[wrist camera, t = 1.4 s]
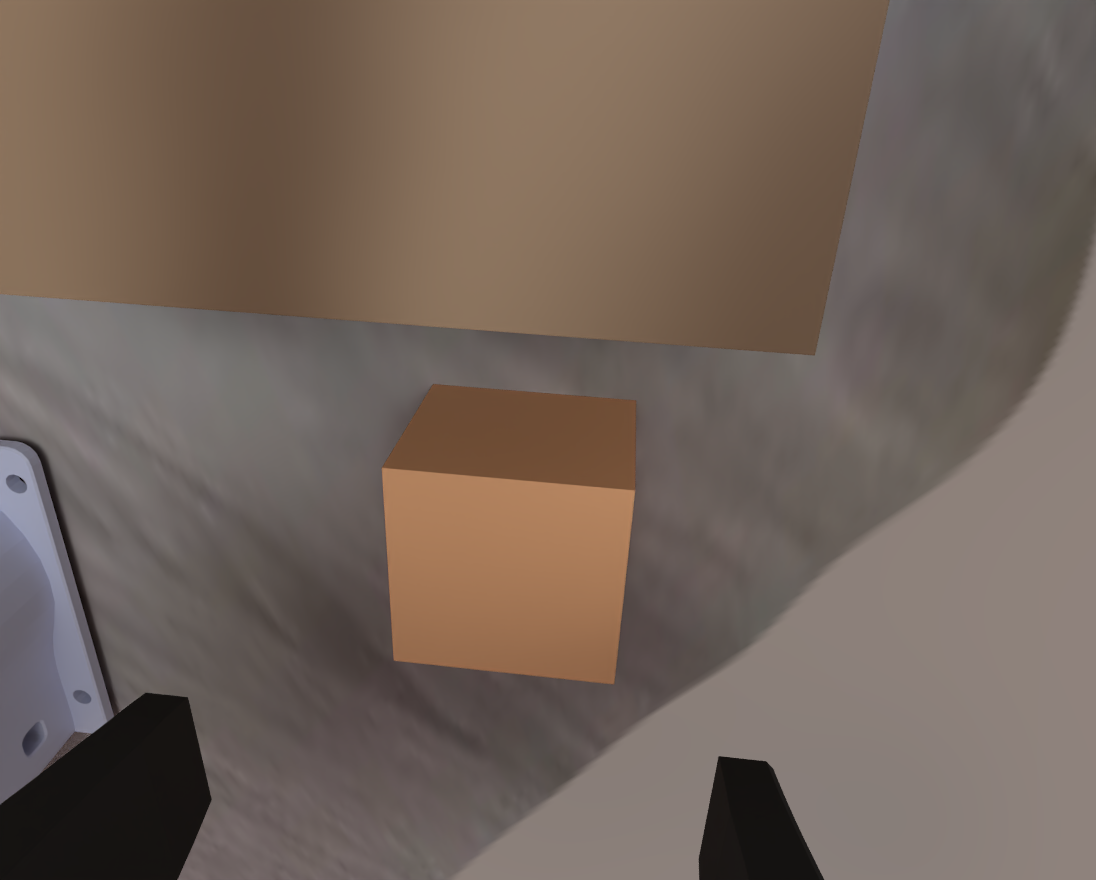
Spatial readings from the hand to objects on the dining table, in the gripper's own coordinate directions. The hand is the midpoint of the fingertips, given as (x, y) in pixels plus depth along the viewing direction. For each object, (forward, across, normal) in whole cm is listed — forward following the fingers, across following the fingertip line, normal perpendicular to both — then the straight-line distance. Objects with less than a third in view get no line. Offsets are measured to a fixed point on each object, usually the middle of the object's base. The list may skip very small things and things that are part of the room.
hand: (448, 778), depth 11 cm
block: (+9, 0, 0) cm, 9 cm away
